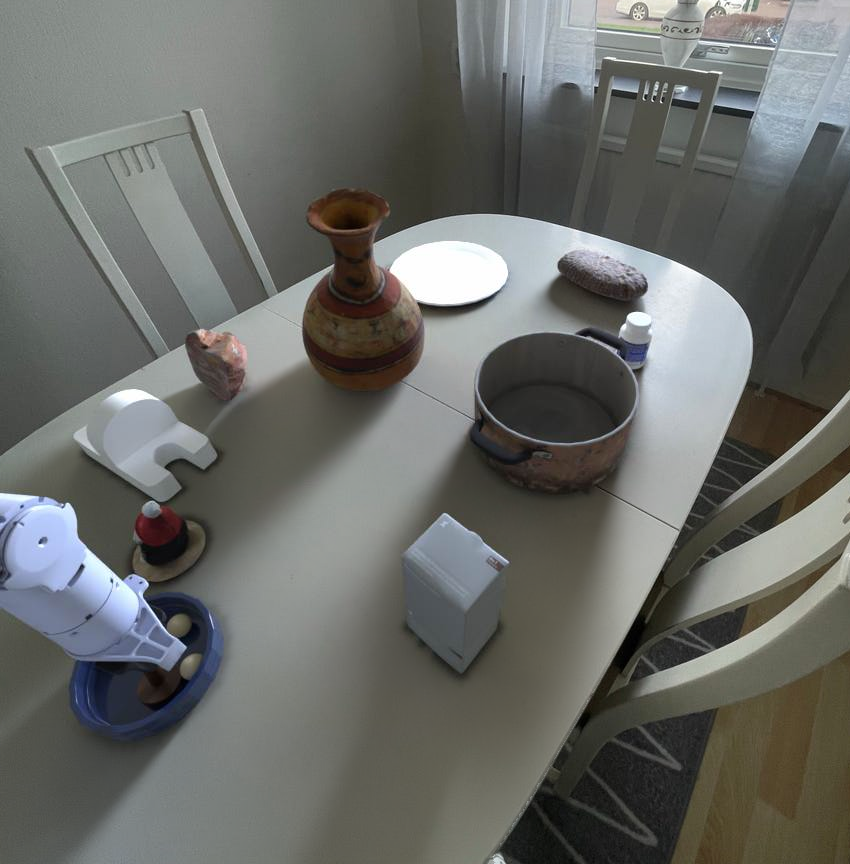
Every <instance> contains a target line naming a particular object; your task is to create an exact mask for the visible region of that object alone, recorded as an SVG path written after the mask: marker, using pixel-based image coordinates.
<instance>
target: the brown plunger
mask: <svg viewBox="0 0 850 864" xmlns="http://www.w3.org/2000/svg"><path fill="white" fill-rule="evenodd" d="M143 673H144V675H143V676H142V678H141V679H140V681H139V683H138V686H137V696H138V698H139V700H140V701H141V703H142V704H143V705H144V706H146V707H150V708H154V707H160V706H162V705H165V704H166V703H168V702H170V701H171V700H172V699H173V698H174V697H175V696H176V695H177V694H178V693H179V691H180V690H181V688H182V685H183V682H184V678H183V677H182V676H181V674H180V667H179V666H178V665H177V664H174V666H173V667H172V668H171V670H170V671H167V670H165V669H163V668H161V667H160V666H158V667H157V668H156V670H155V671H154V672H152V673H146V672H143Z"/></svg>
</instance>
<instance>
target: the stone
mask: <svg viewBox="0 0 850 864" xmlns="http://www.w3.org/2000/svg"><path fill="white" fill-rule="evenodd" d="M184 346H185V347H184V348H185V349H186V350H185V351H186V353H187V357H188V359H189V362H190V364H191V368H192V370H193V372H194V374H195V376H196V378H197V379H198V380H199V381H200V382H201V383H202V384H203V385H204V386H205V387H207V388H208V389H209V390H210V391H211V392H212V393H214V394H215V395H216V396H217V397H218V398H219V400H224V401H226V402H227V401H231V400H233V399H235V398H236V397H237V396H238V394H240V392H241V391H242V390H243V388H244V387H245V384H246V379H245V377H246V373H247V372H246V369H247V364H248V355H247V349H246V345H245V344H244V343H240V340H239V338H238V337H237V336H235V334H234V333H232V332H230V331H224V332H220V333H217V332H216V331H213V330H210V329H204V328H198V329H195V330H192V331H190V332H188V333H187V334H186V337H185V342H184Z"/></svg>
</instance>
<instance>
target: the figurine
mask: <svg viewBox="0 0 850 864" xmlns="http://www.w3.org/2000/svg"><path fill="white" fill-rule="evenodd" d="M133 530H134V531H133V539H132V541H133V542H135V544H136V545H137V546H136V549H135V550H134V553H133V556H132V568H133V571H134V574H135V575H137V576H139V577H141V578H143V579H145V580H146V581H147V582H152V583H158V582H164V581H167V580H170V579H173V578H175V577H177V576H180V575H181V574H183V573H184V572H186V571H187V570H188V569H190V568H191V567H192V566H193V565H194V564H195V563H196V562H197V561H198V559H199V558H200V556H202V553H203V551H204V550H205V549H204V548H205V545H206V533H205V531H204V529H203V527H202V526H201V525H200V524H199V523H197V522H195V521H192V520H189V519H184V518H183V517H181V516H180V515H179V514H177V513H176V512H175V511H174V510H173V509H171V508H170V507H168V506H161V505H160V504H158V503H157V502H156V500H150V501H147V502H145V504H143V505H142V507H141V512H140V513H139V515H138V516H137V517H136V520H135V523H134V529H133Z"/></svg>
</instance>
